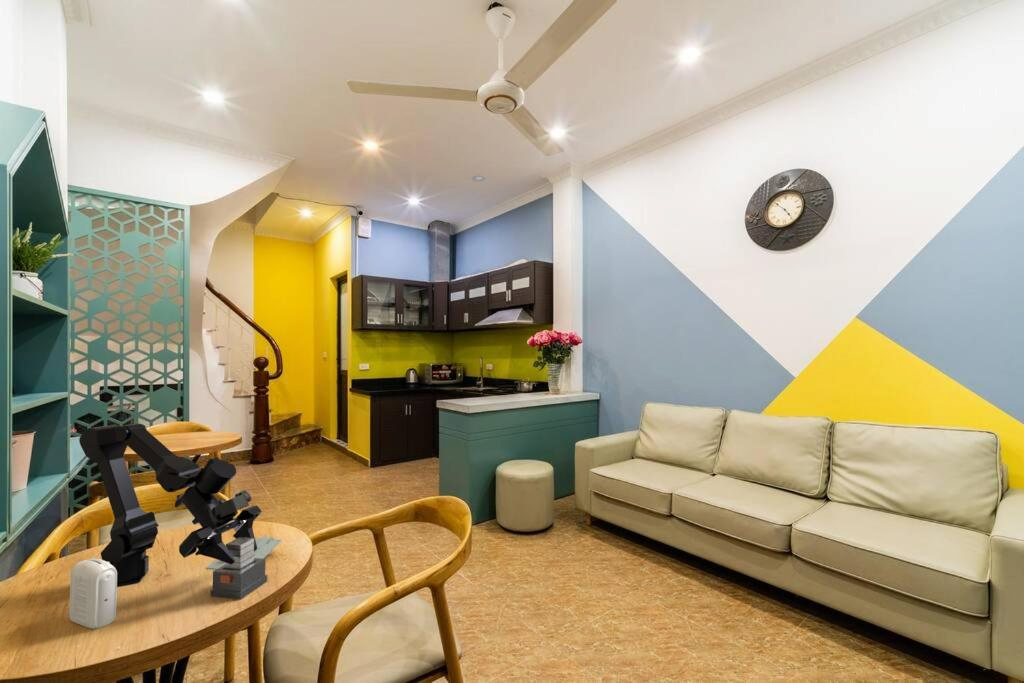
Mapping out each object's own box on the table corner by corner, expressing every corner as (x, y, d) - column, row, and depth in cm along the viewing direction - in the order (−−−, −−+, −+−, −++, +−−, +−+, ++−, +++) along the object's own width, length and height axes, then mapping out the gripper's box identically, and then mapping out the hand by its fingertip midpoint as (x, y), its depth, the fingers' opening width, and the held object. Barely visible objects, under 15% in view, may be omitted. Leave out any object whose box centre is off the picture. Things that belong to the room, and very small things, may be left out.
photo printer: (119, 620, 90) (121, 559, 91) (93, 632, 86) (95, 568, 87) (91, 610, 94) (92, 552, 95) (65, 621, 90) (66, 560, 91)
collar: (209, 597, 99) (209, 572, 99) (238, 579, 107) (238, 556, 107) (240, 599, 97) (240, 574, 97) (267, 581, 105) (267, 558, 105)
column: (224, 584, 100) (224, 544, 101) (239, 575, 105) (239, 537, 105) (240, 585, 100) (240, 545, 100) (254, 576, 104) (254, 537, 104)
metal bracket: (243, 529, 125) (289, 532, 122) (248, 546, 126) (293, 550, 123) (200, 566, 111) (249, 570, 108) (205, 585, 112) (254, 590, 109)
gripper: (190, 495, 95) (234, 550, 92) (255, 473, 113) (293, 518, 110) (159, 530, 96) (201, 585, 93) (229, 503, 114) (266, 548, 112)
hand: (244, 556), depth 102 cm, fingers open, 6 cm apart
